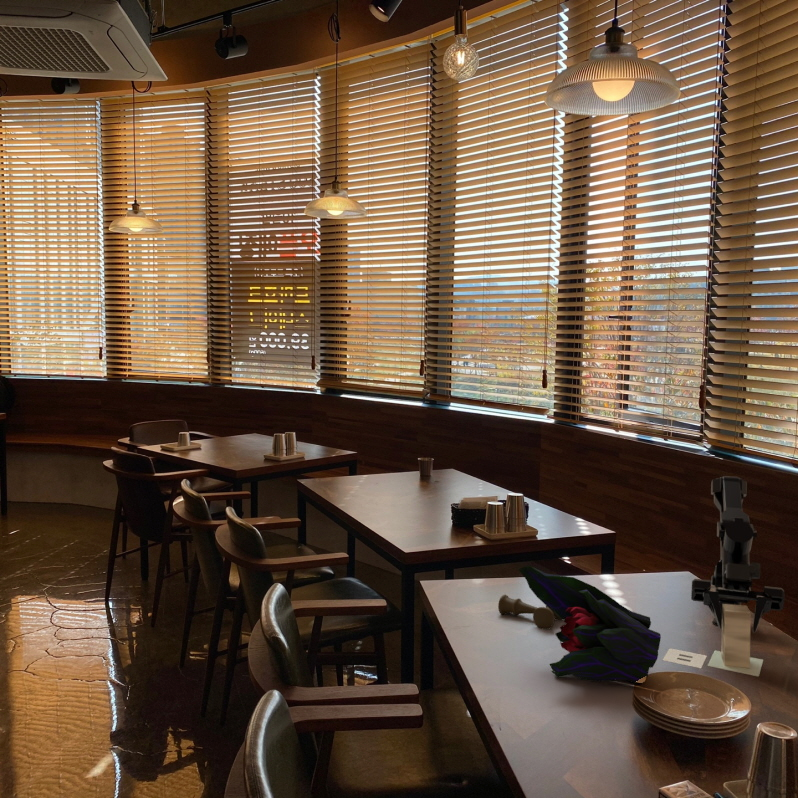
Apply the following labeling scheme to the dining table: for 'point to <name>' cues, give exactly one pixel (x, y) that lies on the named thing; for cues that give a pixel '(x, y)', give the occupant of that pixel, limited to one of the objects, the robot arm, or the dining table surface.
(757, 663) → the green mat
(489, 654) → the dining table surface
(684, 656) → the tile
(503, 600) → the kendama
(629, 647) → the decorative plant
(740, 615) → the maple block
